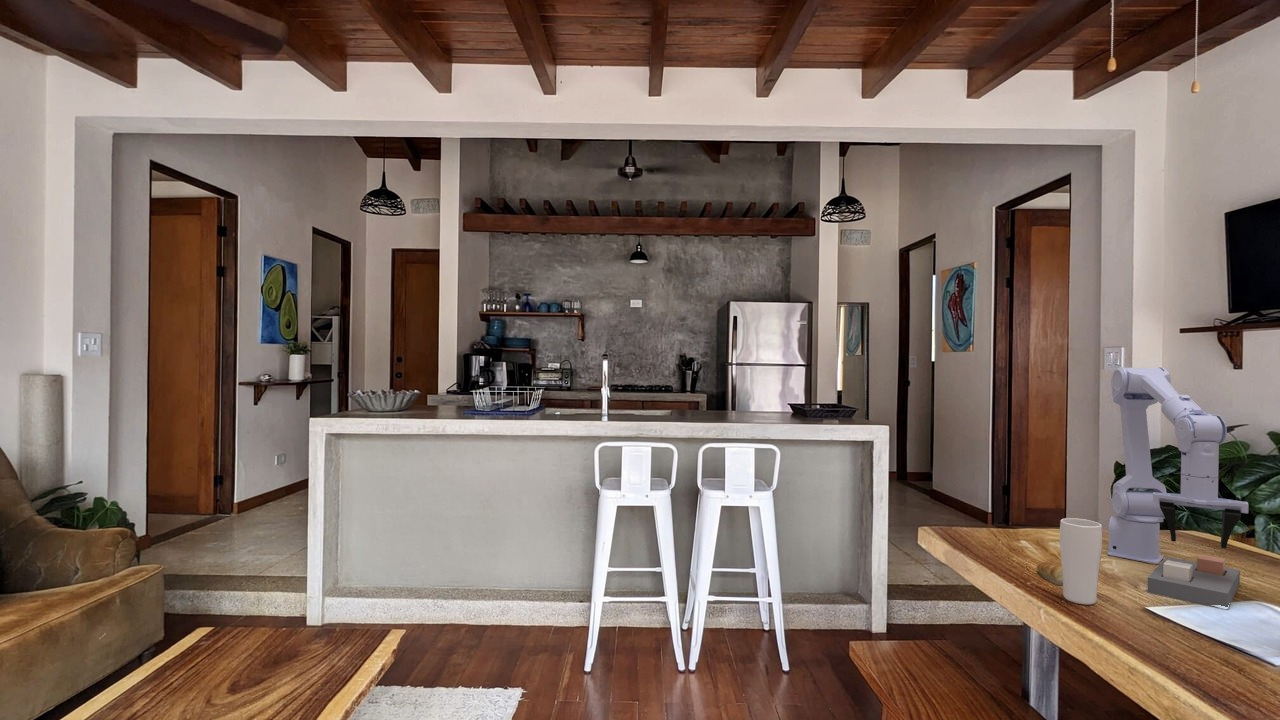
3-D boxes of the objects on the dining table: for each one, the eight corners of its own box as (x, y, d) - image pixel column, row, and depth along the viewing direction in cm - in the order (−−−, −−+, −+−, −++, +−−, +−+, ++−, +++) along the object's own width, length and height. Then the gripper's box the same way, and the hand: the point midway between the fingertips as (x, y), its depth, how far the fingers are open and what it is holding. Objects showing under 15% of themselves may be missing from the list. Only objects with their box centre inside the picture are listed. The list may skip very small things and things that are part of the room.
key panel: (1147, 592, 133) (1147, 577, 133) (1166, 570, 147) (1166, 556, 147) (1227, 609, 125) (1227, 593, 125) (1239, 584, 138) (1239, 569, 138)
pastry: (1027, 572, 146) (1027, 555, 145) (1055, 571, 146) (1055, 554, 146) (1060, 588, 136) (1061, 569, 136) (1090, 586, 137) (1090, 568, 137)
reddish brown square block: (1196, 572, 138) (1197, 558, 138) (1199, 568, 141) (1200, 554, 141) (1222, 577, 135) (1222, 562, 135) (1225, 573, 138) (1225, 558, 138)
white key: (1163, 579, 134) (1163, 564, 134) (1166, 574, 137) (1167, 559, 137) (1188, 584, 131) (1189, 568, 131) (1192, 579, 134) (1192, 564, 134)
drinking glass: (1101, 609, 124) (1103, 528, 124) (1058, 602, 128) (1059, 523, 128) (1100, 598, 130) (1101, 521, 130) (1058, 591, 134) (1059, 516, 133)
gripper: (1153, 474, 135) (1152, 541, 135) (1250, 483, 126) (1249, 555, 126) (1153, 469, 141) (1152, 534, 141) (1246, 477, 132) (1245, 546, 132)
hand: (1198, 543), depth 134 cm, fingers open, 7 cm apart
